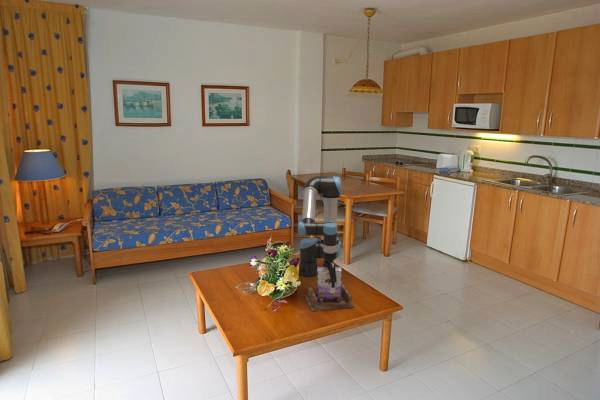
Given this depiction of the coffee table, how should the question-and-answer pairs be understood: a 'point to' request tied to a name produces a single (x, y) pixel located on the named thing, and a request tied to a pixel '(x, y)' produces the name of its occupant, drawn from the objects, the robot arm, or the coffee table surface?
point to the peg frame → (328, 300)
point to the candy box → (328, 283)
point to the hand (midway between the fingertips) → (329, 287)
